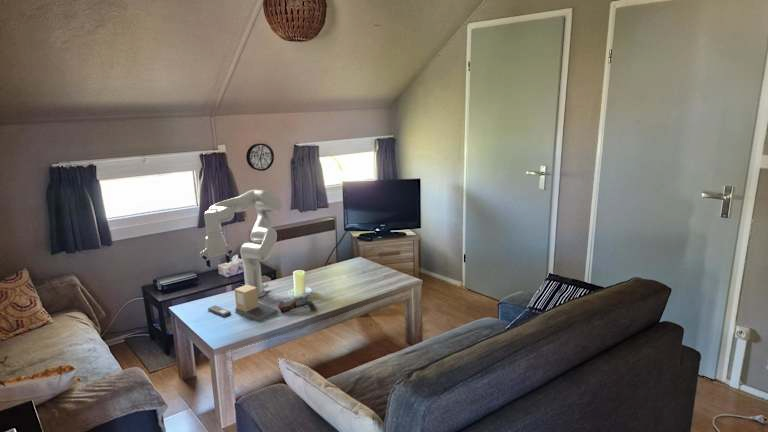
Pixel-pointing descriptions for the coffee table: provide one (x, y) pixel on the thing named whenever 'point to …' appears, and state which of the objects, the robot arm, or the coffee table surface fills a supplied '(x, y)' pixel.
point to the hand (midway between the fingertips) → (218, 264)
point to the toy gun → (296, 304)
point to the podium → (259, 312)
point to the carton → (246, 298)
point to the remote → (219, 311)
